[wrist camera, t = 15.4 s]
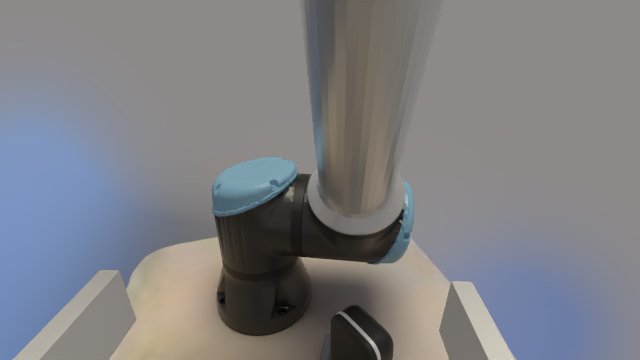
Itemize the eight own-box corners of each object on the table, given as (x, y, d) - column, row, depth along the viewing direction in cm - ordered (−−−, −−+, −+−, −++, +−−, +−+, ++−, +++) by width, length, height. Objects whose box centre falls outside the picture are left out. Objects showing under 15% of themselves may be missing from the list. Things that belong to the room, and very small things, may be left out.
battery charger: (390, 402, 36) (401, 335, 31) (366, 424, 34) (375, 357, 29) (350, 357, 41) (354, 293, 36) (327, 374, 39) (329, 309, 34)
